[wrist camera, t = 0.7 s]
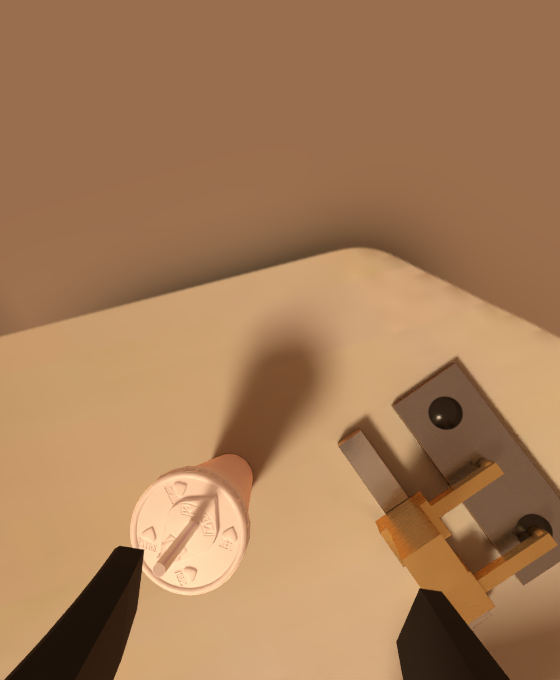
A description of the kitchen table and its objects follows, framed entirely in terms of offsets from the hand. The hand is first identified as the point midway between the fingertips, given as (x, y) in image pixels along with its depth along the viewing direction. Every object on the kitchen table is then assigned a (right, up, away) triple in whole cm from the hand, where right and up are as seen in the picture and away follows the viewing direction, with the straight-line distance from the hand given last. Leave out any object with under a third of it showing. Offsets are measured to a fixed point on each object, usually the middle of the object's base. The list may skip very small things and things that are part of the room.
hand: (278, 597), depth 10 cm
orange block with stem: (+11, -5, +17) cm, 21 cm away
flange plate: (+15, -3, +18) cm, 23 cm away
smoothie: (-4, -4, +20) cm, 20 cm away
